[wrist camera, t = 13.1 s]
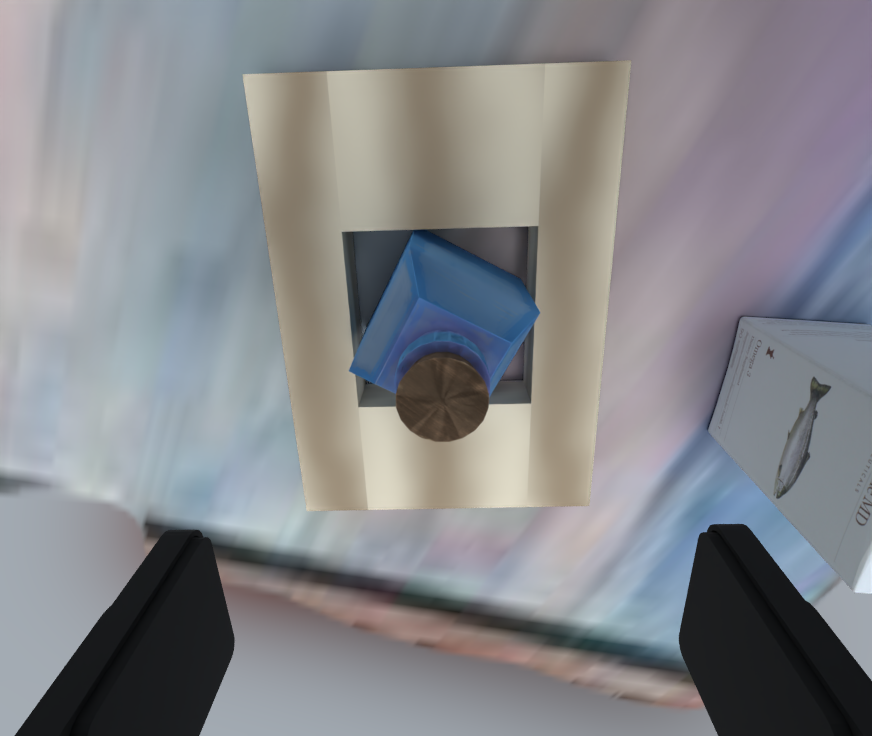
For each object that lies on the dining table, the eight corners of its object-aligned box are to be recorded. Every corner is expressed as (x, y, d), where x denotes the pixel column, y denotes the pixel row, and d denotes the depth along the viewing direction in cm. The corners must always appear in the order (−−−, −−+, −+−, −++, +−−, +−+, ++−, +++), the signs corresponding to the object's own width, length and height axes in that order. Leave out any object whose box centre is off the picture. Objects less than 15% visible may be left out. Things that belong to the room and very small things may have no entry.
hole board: (610, 69, 25) (631, 60, 22) (577, 475, 33) (589, 505, 30) (264, 81, 25) (242, 74, 22) (317, 480, 34) (306, 511, 31)
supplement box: (736, 312, 29) (932, 424, 18) (871, 322, 29) (1154, 439, 18) (701, 432, 32) (849, 597, 20) (824, 440, 32) (1042, 609, 21)
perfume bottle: (520, 278, 29) (570, 364, 18) (465, 374, 31) (479, 504, 20) (416, 224, 28) (398, 278, 17) (366, 327, 30) (321, 436, 19)
